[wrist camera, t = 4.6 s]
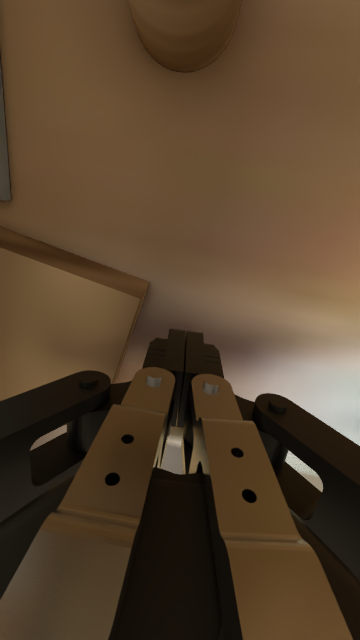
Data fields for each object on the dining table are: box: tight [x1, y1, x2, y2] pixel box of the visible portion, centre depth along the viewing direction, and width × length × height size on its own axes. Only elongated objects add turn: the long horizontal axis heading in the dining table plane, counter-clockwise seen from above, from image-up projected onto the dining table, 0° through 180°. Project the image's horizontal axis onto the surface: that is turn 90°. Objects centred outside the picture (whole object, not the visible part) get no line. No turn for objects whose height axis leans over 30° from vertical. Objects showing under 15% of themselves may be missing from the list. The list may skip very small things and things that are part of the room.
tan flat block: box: [0, 227, 150, 425], centre depth 13 cm, size 10×7×3 cm
